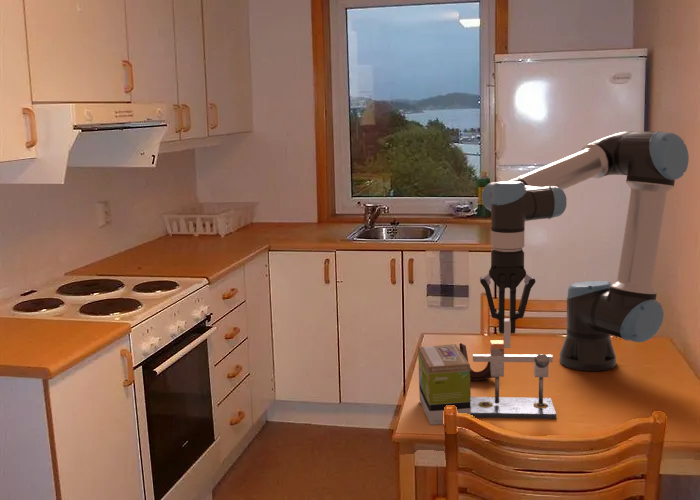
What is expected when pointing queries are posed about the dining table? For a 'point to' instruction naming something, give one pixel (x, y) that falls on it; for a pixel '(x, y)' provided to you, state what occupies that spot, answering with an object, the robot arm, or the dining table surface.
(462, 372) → the tea box
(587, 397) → the dining table surface
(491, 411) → the board
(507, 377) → the dining table surface
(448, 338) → the dining table surface
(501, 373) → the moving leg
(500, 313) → the robot arm
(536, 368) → the beam
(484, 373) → the bracket
